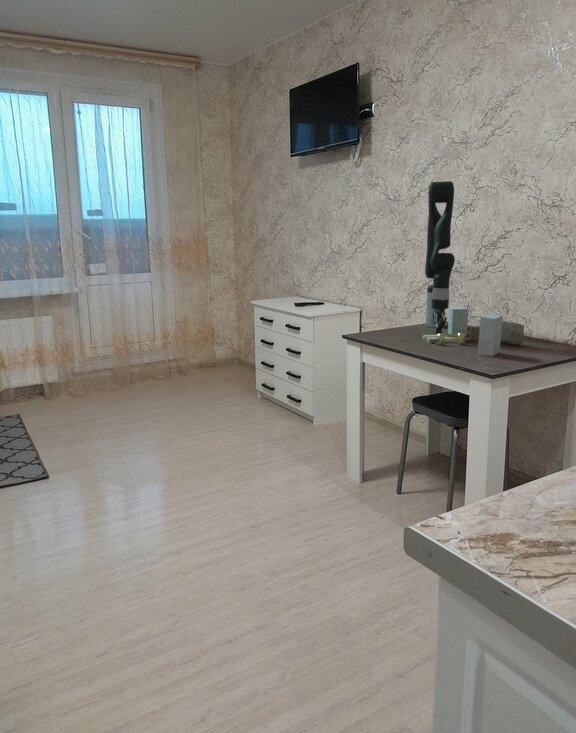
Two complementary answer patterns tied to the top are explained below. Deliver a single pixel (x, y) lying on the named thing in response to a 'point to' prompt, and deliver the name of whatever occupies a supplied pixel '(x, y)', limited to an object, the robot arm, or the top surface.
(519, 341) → the stone
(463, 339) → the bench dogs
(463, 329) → the supplement box
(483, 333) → the skincare box
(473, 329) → the walnut block
